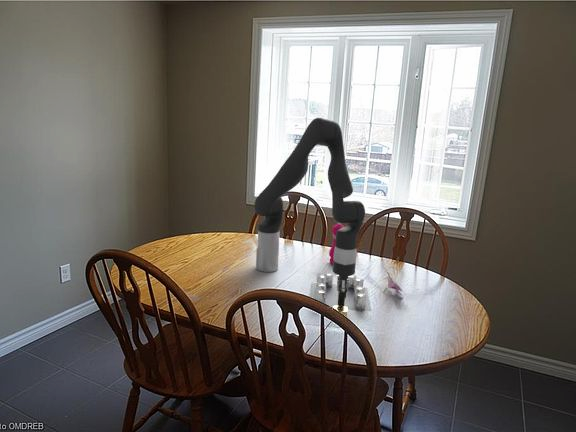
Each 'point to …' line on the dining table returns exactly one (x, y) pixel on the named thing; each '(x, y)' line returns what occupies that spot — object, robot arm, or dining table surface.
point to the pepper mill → (334, 230)
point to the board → (332, 298)
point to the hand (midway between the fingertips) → (340, 306)
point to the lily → (392, 284)
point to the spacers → (354, 285)
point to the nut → (341, 309)
